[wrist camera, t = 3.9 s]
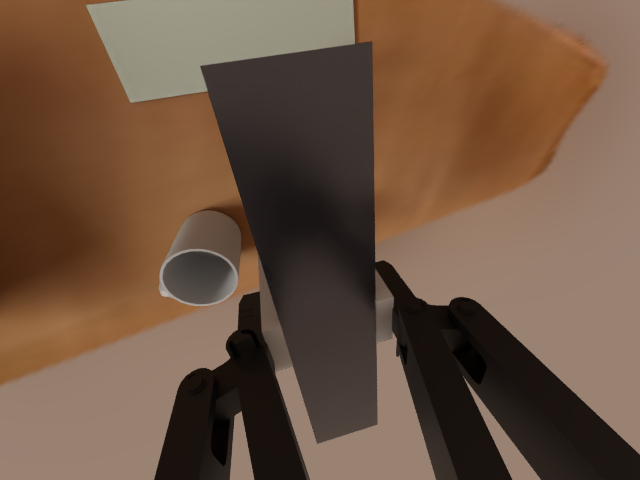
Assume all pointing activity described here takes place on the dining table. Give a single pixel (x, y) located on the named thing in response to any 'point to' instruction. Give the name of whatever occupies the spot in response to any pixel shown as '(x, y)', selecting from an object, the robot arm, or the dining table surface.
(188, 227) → the cup
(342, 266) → the rail
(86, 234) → the dining table surface
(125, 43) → the mat
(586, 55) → the dining table surface
